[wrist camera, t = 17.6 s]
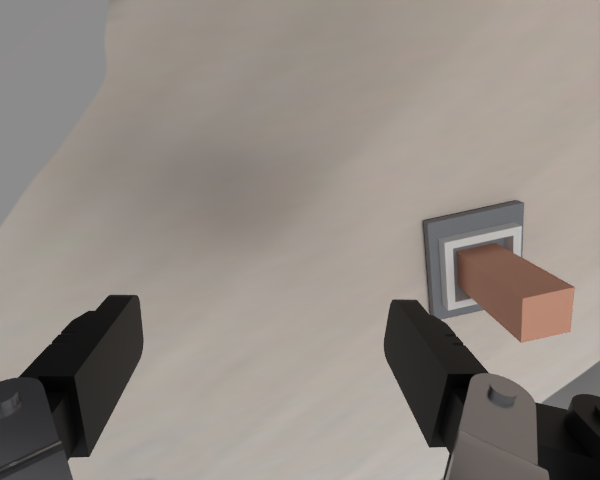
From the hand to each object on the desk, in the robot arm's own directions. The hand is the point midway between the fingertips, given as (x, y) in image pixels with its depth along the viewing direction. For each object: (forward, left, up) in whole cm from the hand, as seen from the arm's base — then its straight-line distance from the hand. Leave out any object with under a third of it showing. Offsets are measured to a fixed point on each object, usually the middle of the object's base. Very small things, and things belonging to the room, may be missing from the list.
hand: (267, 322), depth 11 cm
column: (+10, +27, -29) cm, 41 cm away
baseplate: (+10, +27, -30) cm, 42 cm away
